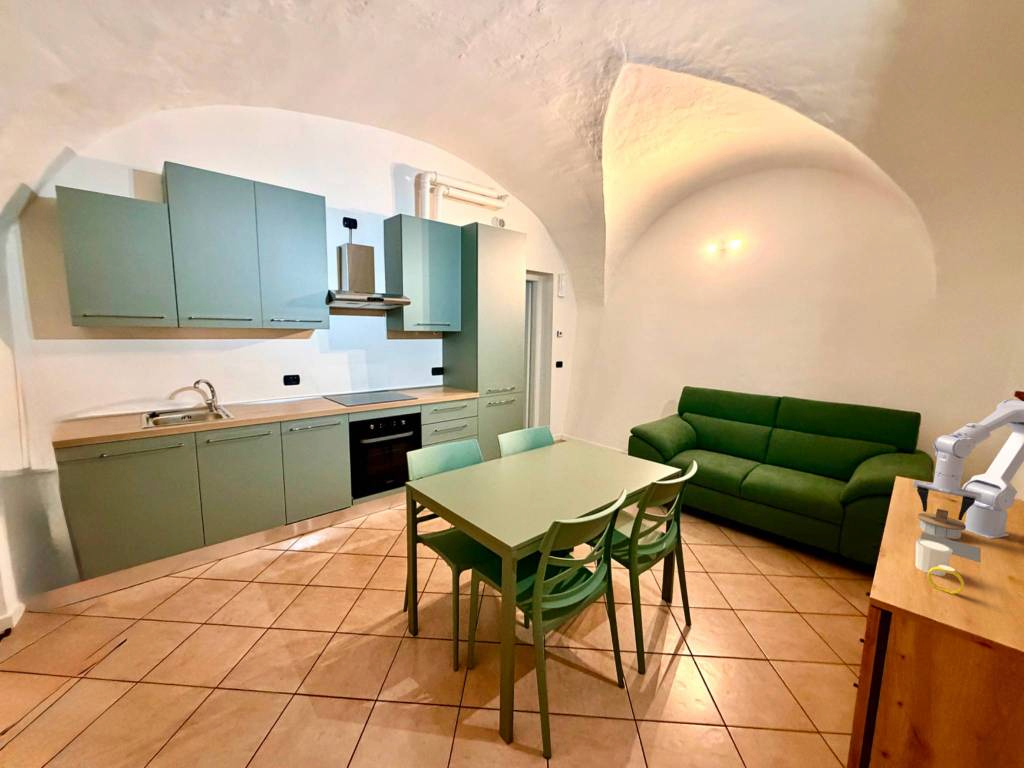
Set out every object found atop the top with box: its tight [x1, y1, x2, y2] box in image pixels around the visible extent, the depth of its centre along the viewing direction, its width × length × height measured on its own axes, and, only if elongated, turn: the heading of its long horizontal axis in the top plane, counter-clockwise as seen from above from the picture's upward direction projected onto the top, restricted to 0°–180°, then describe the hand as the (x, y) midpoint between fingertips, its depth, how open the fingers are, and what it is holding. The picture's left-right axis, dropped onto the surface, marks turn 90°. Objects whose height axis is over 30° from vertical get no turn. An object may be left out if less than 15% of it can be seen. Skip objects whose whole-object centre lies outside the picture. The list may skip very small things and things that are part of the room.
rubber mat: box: [919, 532, 981, 563], centre depth 119 cm, size 12×12×1 cm
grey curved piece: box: [919, 519, 963, 540], centre depth 128 cm, size 9×9×4 cm
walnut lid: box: [917, 508, 966, 531], centre depth 127 cm, size 10×10×4 cm
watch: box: [927, 565, 965, 595], centre depth 98 cm, size 6×3×6 cm, turn 38°
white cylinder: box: [915, 538, 953, 577], centre depth 106 cm, size 7×7×7 cm
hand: (941, 515), depth 127 cm, fingers open, 7 cm apart
